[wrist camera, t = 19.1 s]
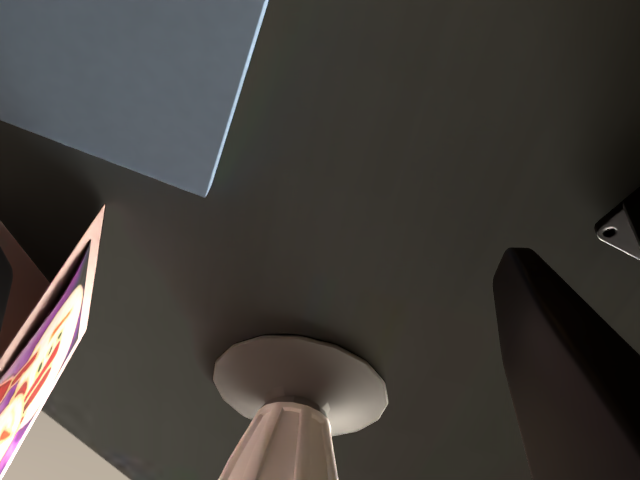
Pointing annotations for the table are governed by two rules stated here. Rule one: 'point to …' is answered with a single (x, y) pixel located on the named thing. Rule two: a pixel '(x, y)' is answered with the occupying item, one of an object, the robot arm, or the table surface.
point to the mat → (130, 78)
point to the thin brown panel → (40, 332)
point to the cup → (295, 404)
